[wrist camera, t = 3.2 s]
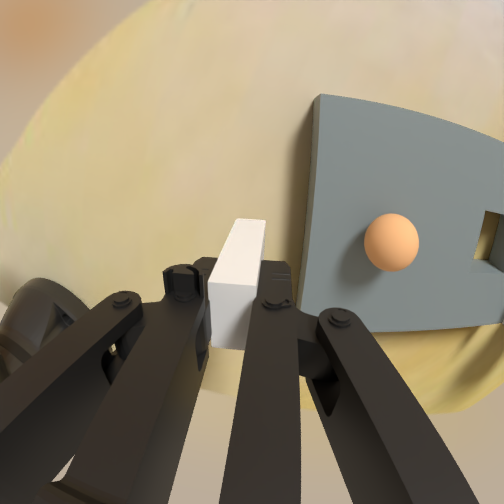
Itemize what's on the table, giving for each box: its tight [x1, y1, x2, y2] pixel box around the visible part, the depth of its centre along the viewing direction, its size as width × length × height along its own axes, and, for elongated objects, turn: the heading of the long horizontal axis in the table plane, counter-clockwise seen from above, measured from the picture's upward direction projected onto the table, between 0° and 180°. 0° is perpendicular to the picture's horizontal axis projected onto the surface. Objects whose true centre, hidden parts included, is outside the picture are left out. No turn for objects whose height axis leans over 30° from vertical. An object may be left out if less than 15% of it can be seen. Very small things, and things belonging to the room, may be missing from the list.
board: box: [296, 94, 504, 332], centre depth 18 cm, size 24×17×5 cm
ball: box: [364, 213, 419, 272], centre depth 16 cm, size 4×4×4 cm
